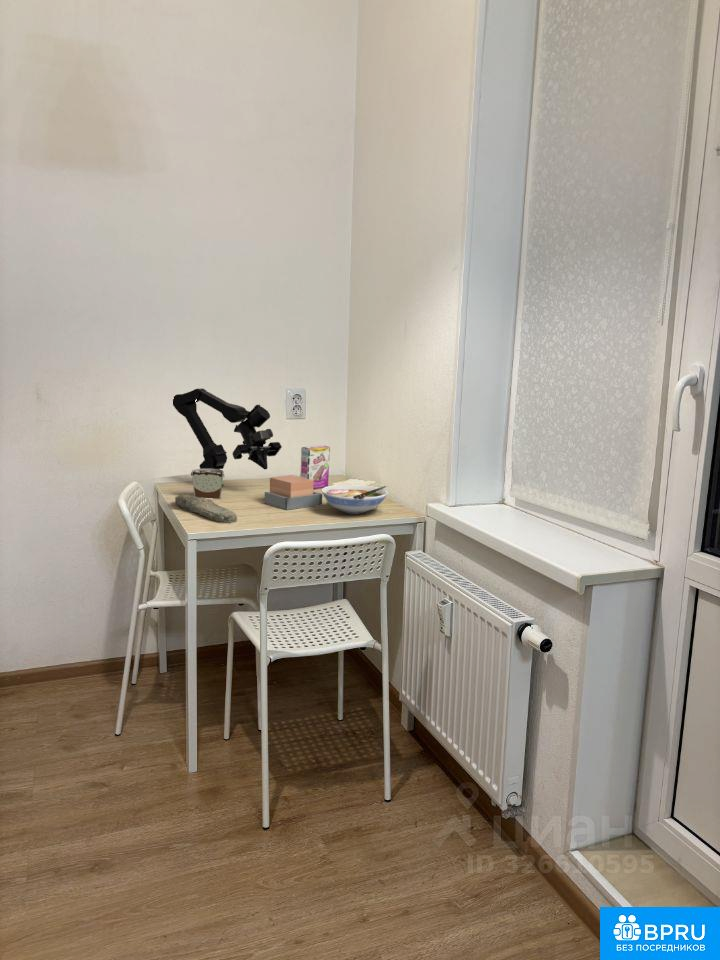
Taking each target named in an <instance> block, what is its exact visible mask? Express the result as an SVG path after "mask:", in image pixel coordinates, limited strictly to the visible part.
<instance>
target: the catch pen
mask: <svg viewBox="0 0 720 960" xmlns="http://www.w3.org/2000/svg"><path fill="white" fill-rule="evenodd" d="M265 503H266V504H265ZM264 504H265V505H269V504H270V505H269V506H272V505H273V506H272V507H275V506H276V507H275V508H278V507H279V509H281V510H285V509H286V510H285V511H290V510H289V509H292V510H296V508H298V509H303V507H305V508H310V507H317V506H322V505H323V493H320V492H317V491H314V490H313V494H311V495H304V496H297V497H289V498H287V497H284V496H280V495H277V494H273V493H270V491H264Z"/></svg>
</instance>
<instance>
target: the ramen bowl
mask: <svg viewBox="0 0 720 960" xmlns="http://www.w3.org/2000/svg"><path fill="white" fill-rule="evenodd" d="M387 487H388V486H386V485H384V486H381V487H379V486H373V485H366V484H365V485H363V484H336V485H335V484H333V485H328V487H324V488H320V489H321V492H322V496H324V498H325V500H326V501H327V503H328V505H330V506H331V507H333V508H335V509H337V510H339V511H342V512H343V513H345V514H350V515H351V514H352V515H360V514H359V513H361V514H364V513H365V512H367V511H371V510H373V509H376V508H377V507H379V505H381V504H382V503H383V501H384V500H385V498H386V497H387V495H388V493H389V492H388V491H387V490H386V489H385V488H387Z"/></svg>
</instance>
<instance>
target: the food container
mask: <svg viewBox="0 0 720 960" xmlns="http://www.w3.org/2000/svg"><path fill="white" fill-rule="evenodd" d="M190 477H192V486H193V497H200V498H201V497H203V498H213V499H212V500H221V499H222V492H223V491H222V487H223V486H222V484H223V479H224V478H225V477H226V476H225V473H224V470H223V469H200V468H197V469H196V468H195V469H192V470H191V472H190ZM220 498H221V499H220Z"/></svg>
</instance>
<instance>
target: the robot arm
mask: <svg viewBox="0 0 720 960" xmlns="http://www.w3.org/2000/svg"><path fill="white" fill-rule="evenodd" d="M173 398H174V399H173ZM173 398H172V401H173V404H172V405H173V407H174V409H175V410H176V411H177V413H178V414H180V415H181V416H183V417H184V419H186V421H187V423H188V425H189V427H190V428H191V431H192V432H193V433H194V435H195V436H196V437H195V438H196V439H197V441H198V442H199V444H200V446H201V448H202V457H203V459H204V460H203V461H202V462H201V463H200V464H199V469H219V470H223V469H224V468H225V465H226V463H227V462H228V461H227V460H228V455H227V453H228V452H227V451H226V450H225V448H224V447H223V444H221V443H220V444H216V442H214V439H213V438H212V436H211V434H210V432H209V430H208V429H207V428H206V426H205V424H204V422H203V420H202V419H201V417H200V415H199V414H198V412H197V409H198V408H197V407H198V406H197V403H198V402H201V403H203V404H205V405H207V406H209V407H211V408H212V409H214V410H216V411H217V412H219V413H221V414H222V416H223V418H224V419H225V420H227V421H228V422H229V423H231V424H235V423H239V424H235V427H234V429H233V432H234V433H239V434H240V436H241V438H242V444H237V445H236V447H235V448H234V450H233V451H232V457H233V459H234V460H241V459H242V458H243V455H247V454H248V457H247V459H248V461H252V462H253V463H255V464H256V465H257V466H259V467H260V468H262V469H263V470H268V468H269V467H268V457H275V456H277V455H278V453H279V452H280V450H281V449H282V448H283V446H282V444H281V443H280V441H274V442H272V441H271V442H269V443H268V445H266V443H267V441H268V440H270V439H271V438H273V437H274V433H273V430H272V429H271V428H266V429H265V430H263V429H262V430H258V431H257V430H256V428H261V427H262V426H263V425H264V424H265V423H266V422H267V421H268V420H269V419H270V418H271V415H270V412H269V410H267V409H266V408H264V407H263V406H261V404H255V405H254V406H253V408H252V409H251V410H250V411H249V410H247V409H246V408H245V406H244V407H243V406H241V405H238V404H235V403H234V404H233V403H229V402H227V401H226V400H223V399H222V398H220V397H218V396H216V395H214V394H212V393H211V392H209V391H208V390H206V389H205V388H203V387H202V388H201V387H200V388H195V389H193V390H191V391H187V392H185V393H179V394H175V395H174V396H173ZM196 399H197V401H196V402H197V403H196V402H195V400H196ZM223 486H224V484H223V483H222V487H223Z"/></svg>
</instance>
